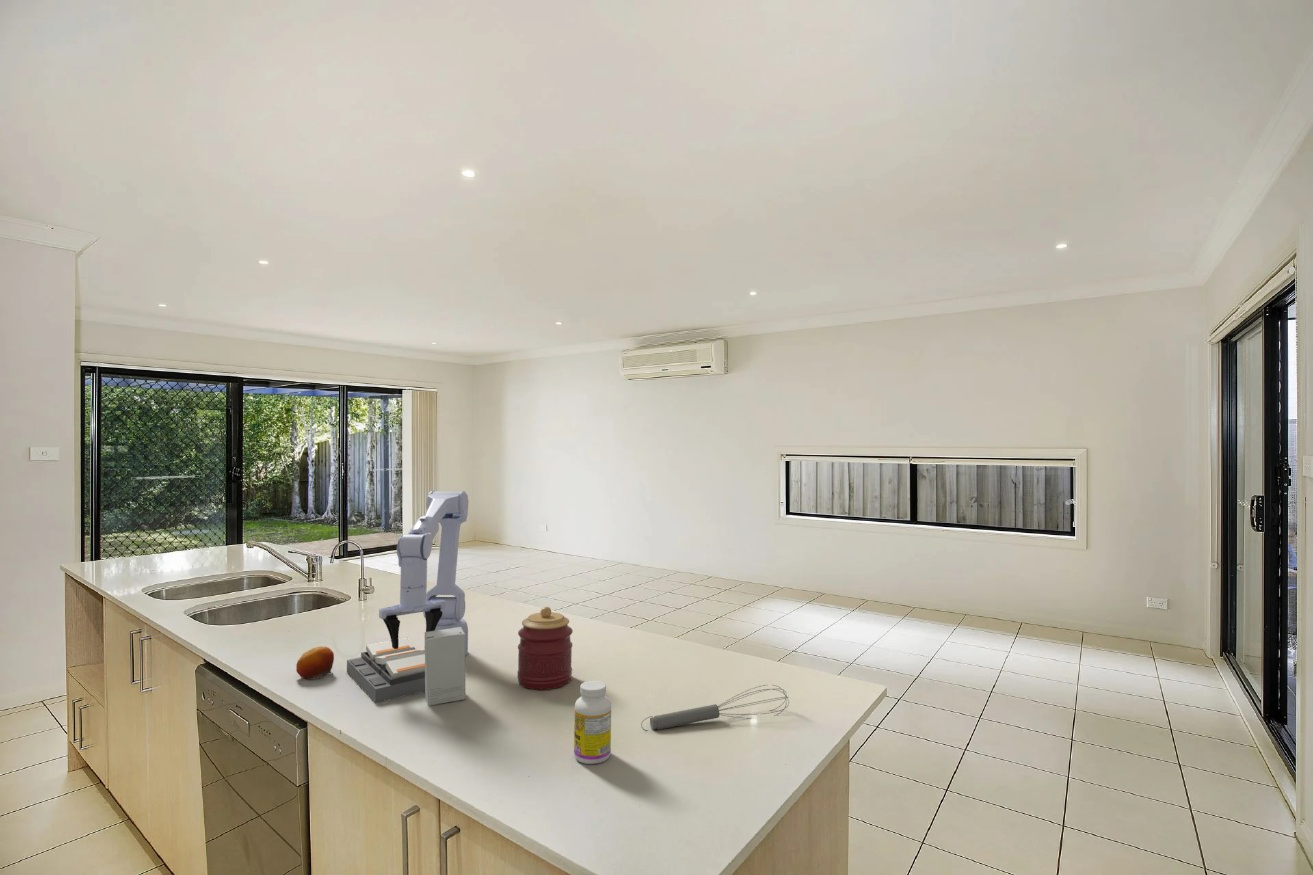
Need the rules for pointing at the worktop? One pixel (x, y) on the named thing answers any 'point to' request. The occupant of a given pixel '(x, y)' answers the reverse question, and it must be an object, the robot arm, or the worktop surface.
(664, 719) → the kitchen whisk
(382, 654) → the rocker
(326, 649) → the fruit
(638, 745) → the worktop surface
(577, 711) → the supplement bottle
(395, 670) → the panel
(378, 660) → the rocker middle
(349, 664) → the rocker switch panel
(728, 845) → the worktop surface
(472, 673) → the worktop surface
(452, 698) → the skincare box
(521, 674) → the canister
